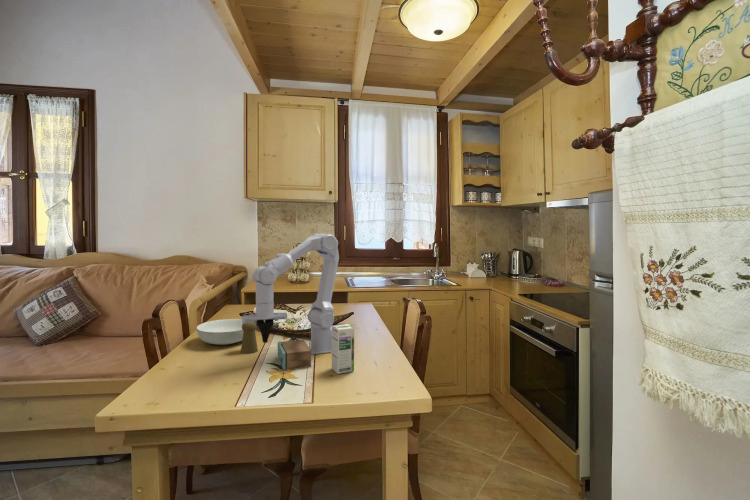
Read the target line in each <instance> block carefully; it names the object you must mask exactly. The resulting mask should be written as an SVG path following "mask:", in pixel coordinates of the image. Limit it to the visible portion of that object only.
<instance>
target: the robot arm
mask: <svg viewBox="0 0 750 500" xmlns="http://www.w3.org/2000/svg"><path fill="white" fill-rule="evenodd" d="M338 246H339V241H338V239H337V238H336V236H335V235H333V234H331V233H318V232H317V233H313V234H312V235H311V236H308V237H306V239H305V240H304V241H303V242H300V244H298V245H297V246H296V247H294V248H293V249H292V250H289V252H288V253H285V252H281V253H277V254H275V257H274V258H273V259H271V260H269V261H266V262H265V263H264V265H260V266H258V267H257V268H256V269H254V272H253V274H252V279H253V280H254V281H255V313H254V314H249V315H248V314H247V315H241V320H242V323H246V322H255V323H256V325H257V326H258V327H257V328H258V329H259V331H260V334H261V339H262V343H263V344H265V343H268V339H269V336H270V333H271V330H272V328H273V326H274V324H275V321H276V320H277V321H279V320H288V313H287V312H274V310H275V309H274V305H275V301H274V296H275V295H274V293H275V291H274V283H275V282H276V281H277V279H278V277H279V276H280V275H282V274H283V273H284V272H286V271H288V270H289V269H291V268H292V267H293V263H294V261H297V260H298V259H299V258H301V257H303V256H304V255H306V254H307V253H309V252H312V251H316V252H317V253H318V254H319V255H320V256H321V257H322V259H323V264H322V268H321V275H320V280H319V286H318V290H317V295H316V300H315V301H313V303H312V304H311V307H310V309H309V311H308V313H307V320H308V322H309V323H310V346H308V347H309V348H310V349H311V355H319V354H326V353H332V326H333V324H334V322H335V316H334V313H335V312H334V311H335V309H334V308H335V307H334V306H333V305H332V298H333V293H334V287H335V283H336V276H337V273H338V265H339V261H340V254H339V248H338Z"/></svg>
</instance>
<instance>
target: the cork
mask: <svg viewBox="0 0 750 500" xmlns="http://www.w3.org/2000/svg"><path fill="white" fill-rule="evenodd" d="M257 326H258V325H257V322H256V321H255V322H246V323H243V324H242V330H243V338H242V340H241V348H240V353H241V354H243V355H244V354H245V355H246V354H247V355H248V354H250V355H251V354H255V353H257V352H258V342H257V335H256V334H257V333H256V330H257V328H258V327H257Z"/></svg>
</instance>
